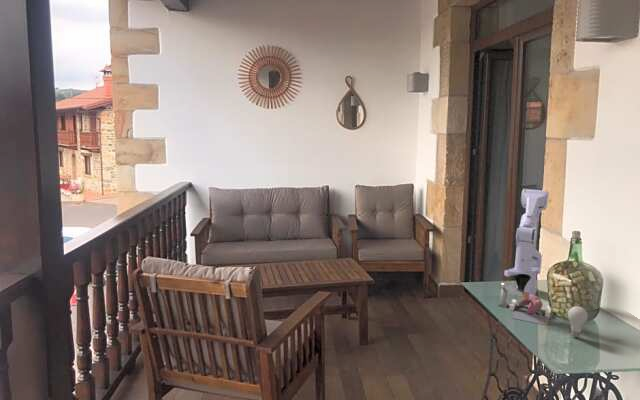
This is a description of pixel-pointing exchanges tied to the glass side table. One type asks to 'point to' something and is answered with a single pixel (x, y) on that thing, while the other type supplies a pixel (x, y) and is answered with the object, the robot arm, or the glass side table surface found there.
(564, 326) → the glass side table surface
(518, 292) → the orange and grey bar
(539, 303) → the video game controller
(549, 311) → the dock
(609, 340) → the glass side table surface
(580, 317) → the lightbulb
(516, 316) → the mat
